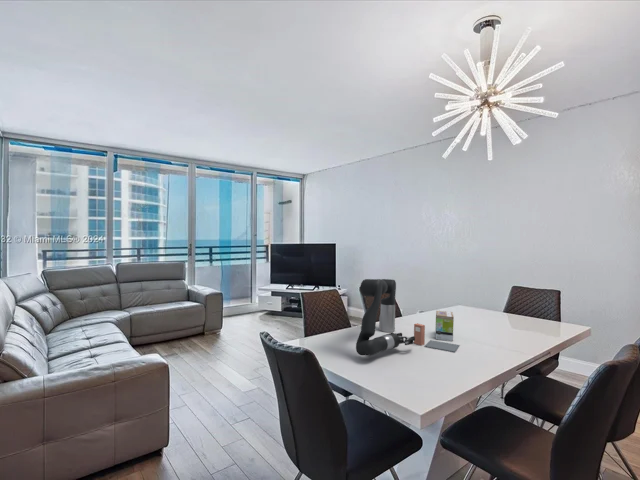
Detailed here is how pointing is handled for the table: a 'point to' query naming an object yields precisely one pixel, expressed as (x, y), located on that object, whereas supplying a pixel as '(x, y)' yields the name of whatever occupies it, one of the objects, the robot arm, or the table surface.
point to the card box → (419, 334)
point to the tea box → (444, 325)
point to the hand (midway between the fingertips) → (407, 336)
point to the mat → (442, 346)
